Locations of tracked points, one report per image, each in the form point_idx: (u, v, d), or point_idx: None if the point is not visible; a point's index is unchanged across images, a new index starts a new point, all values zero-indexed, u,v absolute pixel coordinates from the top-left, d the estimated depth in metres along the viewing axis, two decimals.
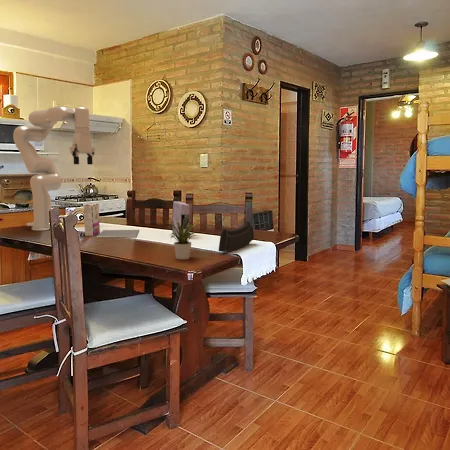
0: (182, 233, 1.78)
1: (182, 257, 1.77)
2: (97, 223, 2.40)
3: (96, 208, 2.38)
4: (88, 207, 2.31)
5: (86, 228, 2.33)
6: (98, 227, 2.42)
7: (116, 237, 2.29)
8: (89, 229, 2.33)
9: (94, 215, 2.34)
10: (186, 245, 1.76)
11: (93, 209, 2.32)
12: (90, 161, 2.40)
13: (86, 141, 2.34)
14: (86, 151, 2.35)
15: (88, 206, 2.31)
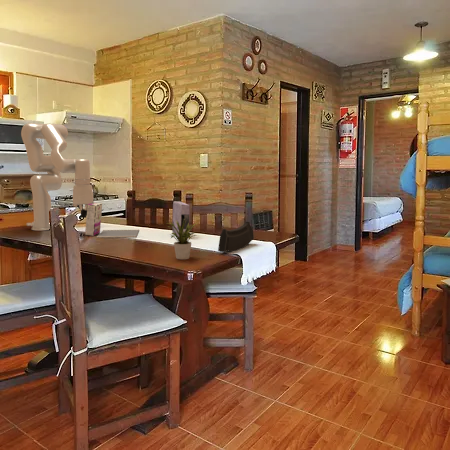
0: (182, 233, 1.78)
1: (182, 257, 1.77)
2: (98, 223, 2.40)
3: (99, 209, 2.38)
4: (91, 207, 2.31)
5: (87, 227, 2.33)
6: (99, 227, 2.42)
7: (116, 237, 2.29)
8: (90, 228, 2.33)
9: (97, 215, 2.34)
10: (186, 245, 1.76)
11: (96, 209, 2.32)
12: None
13: None
14: None
15: (92, 206, 2.31)
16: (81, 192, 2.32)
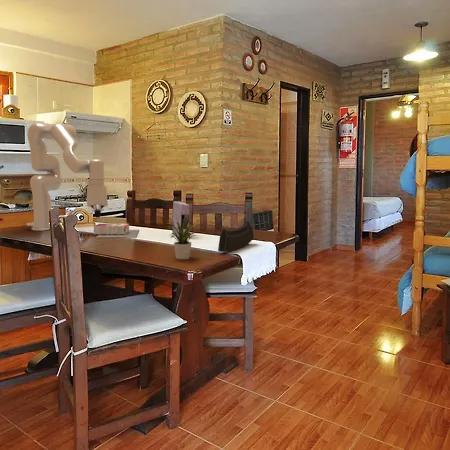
0: (182, 233, 1.78)
1: (182, 257, 1.77)
2: None
3: None
4: (122, 230, 2.33)
5: (101, 227, 2.33)
6: None
7: (116, 237, 2.29)
8: (100, 230, 2.33)
9: None
10: (186, 245, 1.76)
11: (121, 234, 2.34)
12: None
13: None
14: None
15: (123, 230, 2.33)
16: (95, 192, 2.33)
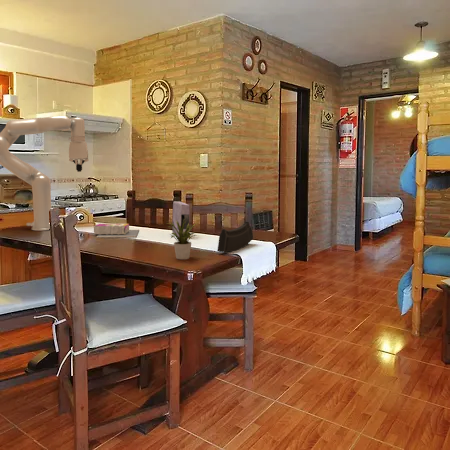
0: (182, 233, 1.78)
1: (182, 257, 1.77)
2: None
3: None
4: (122, 230, 2.33)
5: (101, 227, 2.33)
6: None
7: (116, 237, 2.29)
8: (100, 230, 2.33)
9: None
10: (186, 245, 1.76)
11: (121, 234, 2.34)
12: None
13: None
14: None
15: (123, 230, 2.33)
16: (77, 148, 2.56)
